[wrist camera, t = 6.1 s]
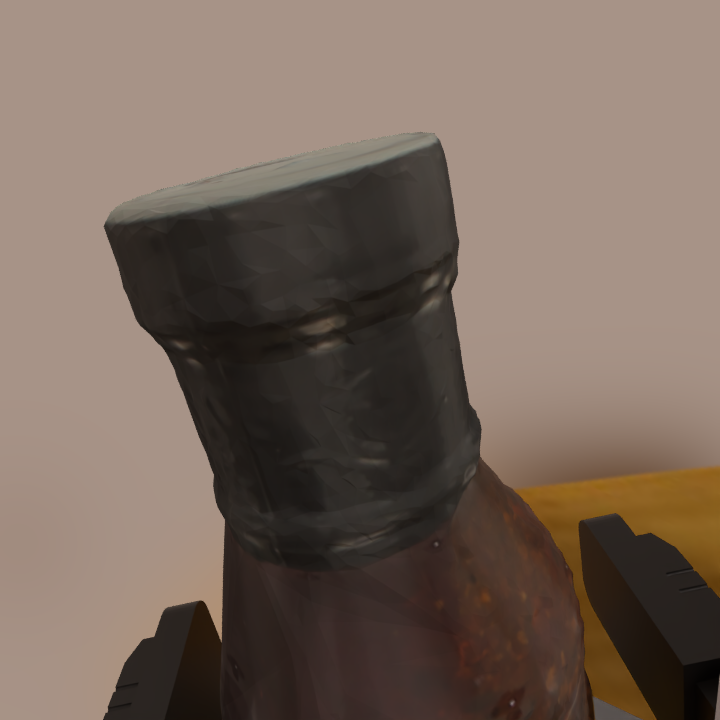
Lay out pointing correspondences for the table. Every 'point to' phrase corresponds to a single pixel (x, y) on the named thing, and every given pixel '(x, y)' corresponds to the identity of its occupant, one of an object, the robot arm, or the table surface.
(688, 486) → the table surface
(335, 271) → the sauce bottle
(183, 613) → the robot arm
